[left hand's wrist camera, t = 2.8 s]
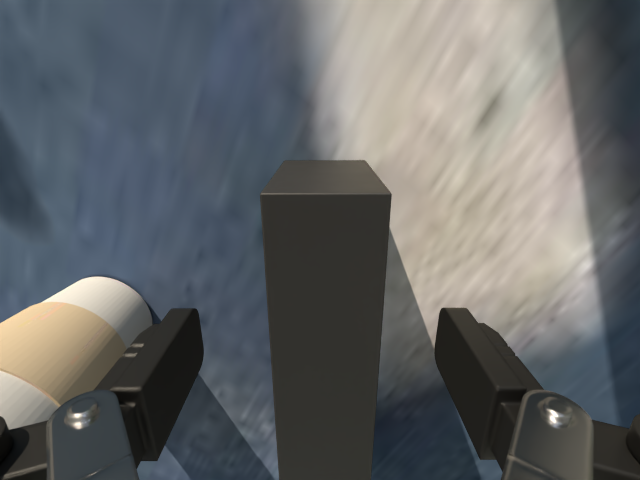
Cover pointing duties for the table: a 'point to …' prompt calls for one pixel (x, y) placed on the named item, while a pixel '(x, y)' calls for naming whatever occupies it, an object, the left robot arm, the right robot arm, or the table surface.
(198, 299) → the table surface
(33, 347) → the coffee cup
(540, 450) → the left robot arm
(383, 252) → the bar
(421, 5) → the table surface
